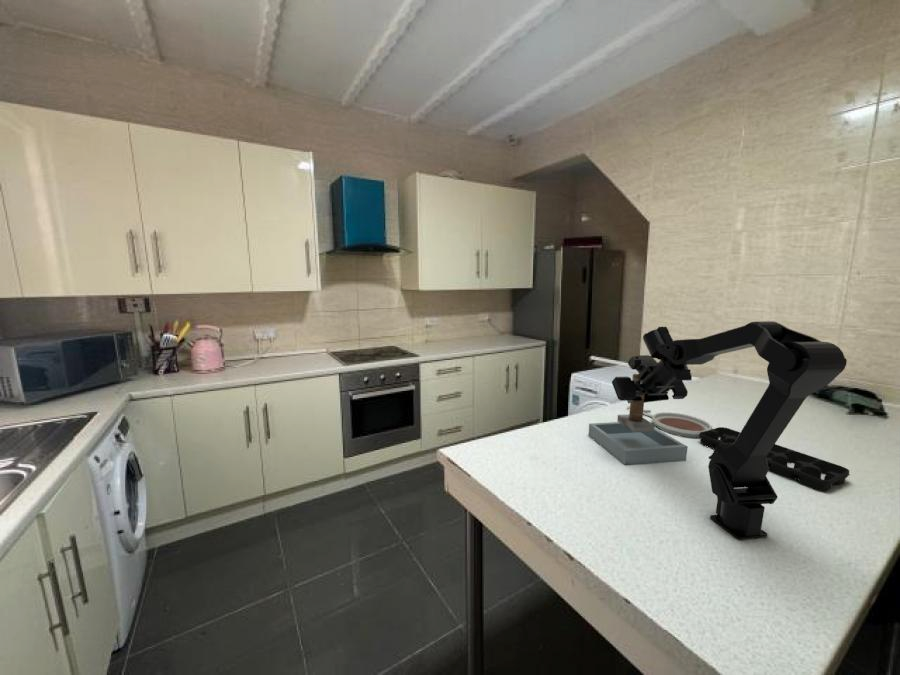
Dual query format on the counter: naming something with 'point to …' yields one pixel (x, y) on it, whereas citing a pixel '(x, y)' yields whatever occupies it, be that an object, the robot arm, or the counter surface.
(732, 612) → the counter surface
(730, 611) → the counter surface
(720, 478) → the robot arm
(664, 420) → the frying pan
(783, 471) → the egg carton
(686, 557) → the counter surface
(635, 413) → the brown post on plinth
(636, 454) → the tray
